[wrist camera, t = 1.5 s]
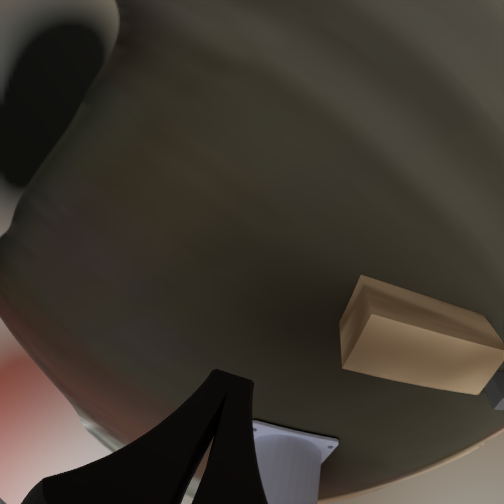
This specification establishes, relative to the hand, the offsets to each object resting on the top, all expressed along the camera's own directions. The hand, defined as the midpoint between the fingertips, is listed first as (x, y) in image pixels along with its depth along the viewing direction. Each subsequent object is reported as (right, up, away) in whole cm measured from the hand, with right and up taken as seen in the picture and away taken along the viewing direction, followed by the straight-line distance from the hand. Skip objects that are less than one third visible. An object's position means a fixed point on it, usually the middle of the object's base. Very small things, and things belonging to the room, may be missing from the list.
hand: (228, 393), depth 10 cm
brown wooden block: (+11, 0, +8) cm, 14 cm away
